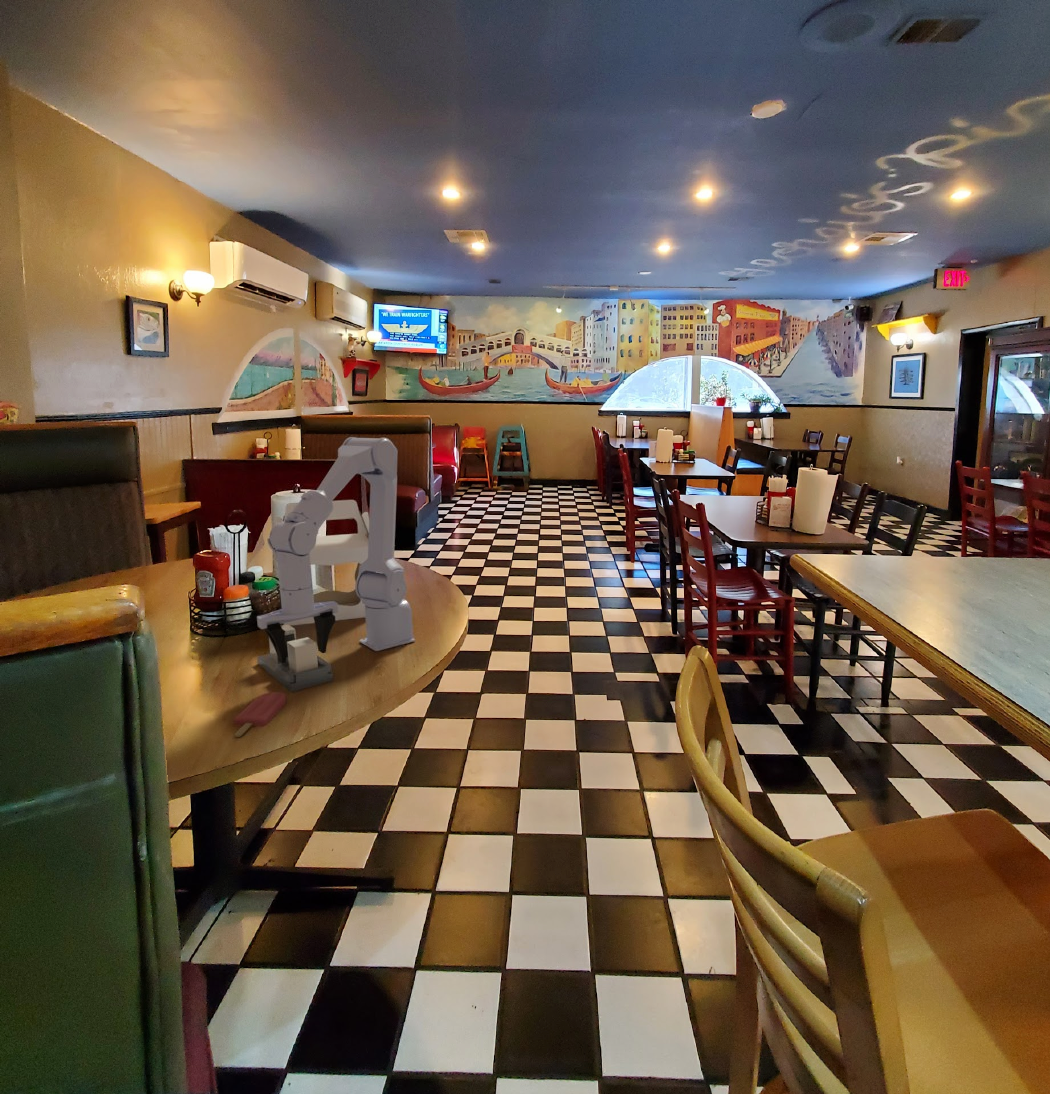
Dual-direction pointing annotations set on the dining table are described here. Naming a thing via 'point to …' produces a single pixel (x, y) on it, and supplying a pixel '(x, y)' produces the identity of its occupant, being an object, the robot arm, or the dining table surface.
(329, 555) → the gable box
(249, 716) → the popsicle
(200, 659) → the dining table surface
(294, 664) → the block
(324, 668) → the grey socket block stand
